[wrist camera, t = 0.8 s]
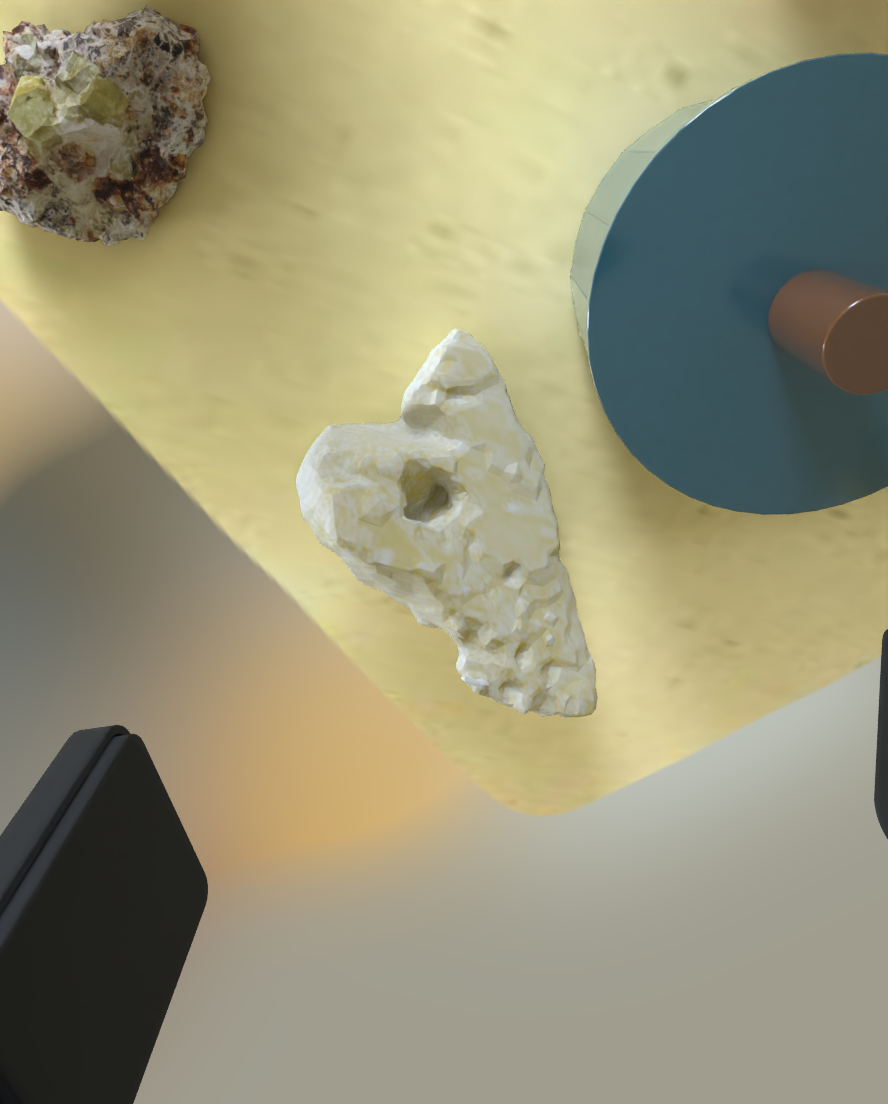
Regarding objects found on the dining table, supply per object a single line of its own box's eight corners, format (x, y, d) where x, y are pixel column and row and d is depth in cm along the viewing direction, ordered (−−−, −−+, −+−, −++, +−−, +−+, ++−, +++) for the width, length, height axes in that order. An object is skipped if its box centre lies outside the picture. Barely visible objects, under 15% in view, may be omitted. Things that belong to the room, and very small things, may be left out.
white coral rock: (305, 336, 37) (222, 650, 34) (368, 275, 31) (272, 654, 28) (561, 445, 44) (511, 716, 41) (656, 414, 38) (605, 732, 35)
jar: (800, 17, 29) (929, -35, 21) (927, 305, 34) (1075, 358, 25) (514, 230, 33) (524, 258, 25) (661, 464, 37) (713, 557, 29)
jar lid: (929, -63, 21) (1070, -129, 16) (1084, 357, 26) (1232, 409, 21) (501, 252, 25) (507, 279, 20) (703, 566, 30) (749, 652, 25)
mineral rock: (59, 306, 33) (-120, 123, 28) (82, 268, 36) (-74, 98, 32) (268, 158, 30) (111, -73, 26) (272, 131, 34) (134, -77, 29)
